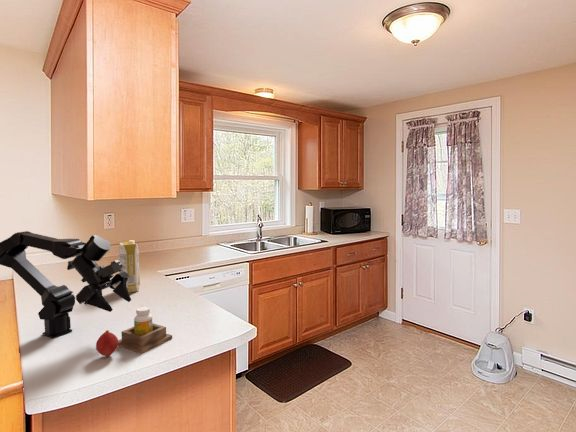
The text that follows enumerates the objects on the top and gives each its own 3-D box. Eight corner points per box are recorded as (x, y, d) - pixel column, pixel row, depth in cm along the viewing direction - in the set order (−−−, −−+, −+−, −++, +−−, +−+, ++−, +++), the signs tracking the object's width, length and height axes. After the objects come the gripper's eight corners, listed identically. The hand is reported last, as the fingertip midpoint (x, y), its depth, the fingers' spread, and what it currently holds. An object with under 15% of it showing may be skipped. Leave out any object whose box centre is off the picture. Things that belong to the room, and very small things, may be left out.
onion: (91, 359, 101) (90, 332, 101) (108, 350, 107) (107, 324, 106) (107, 362, 99) (105, 335, 99) (123, 353, 105) (122, 327, 104)
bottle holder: (141, 353, 105) (140, 340, 105) (115, 344, 111) (115, 332, 110) (172, 338, 115) (171, 326, 115) (147, 330, 121) (146, 319, 121)
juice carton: (141, 291, 166) (139, 241, 164) (122, 294, 162) (120, 242, 160) (136, 286, 174) (135, 238, 172) (119, 289, 169) (117, 240, 167)
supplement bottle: (131, 341, 110) (130, 311, 110) (139, 334, 116) (139, 305, 115) (147, 342, 110) (147, 312, 109) (155, 335, 115) (155, 306, 115)
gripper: (82, 260, 104) (117, 299, 103) (123, 248, 122) (153, 281, 121) (60, 284, 106) (94, 323, 105) (104, 269, 125) (133, 302, 124)
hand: (121, 305), depth 114 cm, fingers open, 9 cm apart
